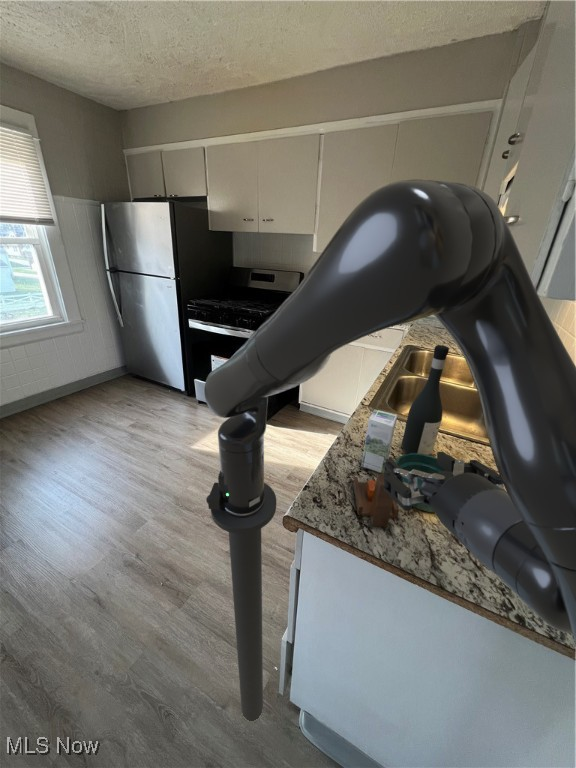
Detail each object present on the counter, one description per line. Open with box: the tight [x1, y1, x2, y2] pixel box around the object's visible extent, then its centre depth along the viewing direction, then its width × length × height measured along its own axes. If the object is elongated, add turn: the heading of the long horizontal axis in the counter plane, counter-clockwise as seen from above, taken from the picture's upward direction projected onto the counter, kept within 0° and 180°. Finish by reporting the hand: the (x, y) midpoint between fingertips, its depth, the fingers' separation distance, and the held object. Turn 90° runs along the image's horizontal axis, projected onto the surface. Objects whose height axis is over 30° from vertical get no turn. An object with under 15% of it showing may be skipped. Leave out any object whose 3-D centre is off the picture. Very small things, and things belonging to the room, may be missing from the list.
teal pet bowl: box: [394, 453, 446, 513], centre depth 72 cm, size 14×14×5 cm
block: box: [366, 479, 376, 501], centre depth 69 cm, size 3×3×3 cm
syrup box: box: [360, 409, 398, 474], centre depth 77 cm, size 6×6×14 cm
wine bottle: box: [401, 344, 450, 456], centre depth 80 cm, size 8×8×30 cm
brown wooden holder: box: [352, 473, 400, 528], centre depth 66 cm, size 12×8×11 cm
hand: (413, 460), depth 50 cm, fingers open, 8 cm apart
